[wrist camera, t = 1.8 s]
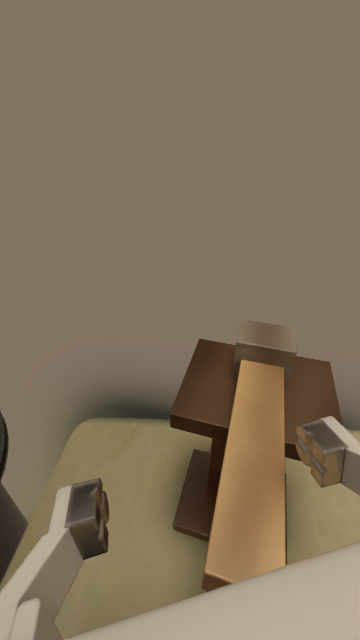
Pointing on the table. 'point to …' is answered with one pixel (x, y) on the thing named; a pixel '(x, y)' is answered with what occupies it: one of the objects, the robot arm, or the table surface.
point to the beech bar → (253, 461)
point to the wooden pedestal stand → (215, 414)
